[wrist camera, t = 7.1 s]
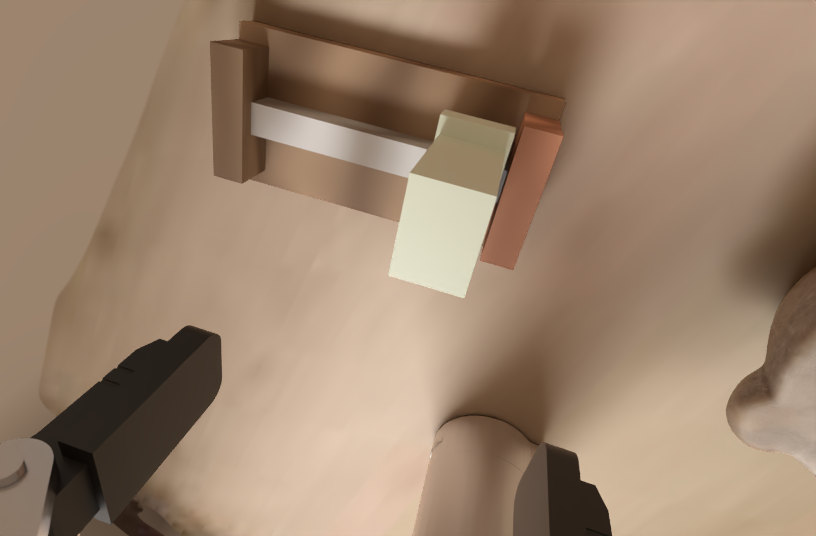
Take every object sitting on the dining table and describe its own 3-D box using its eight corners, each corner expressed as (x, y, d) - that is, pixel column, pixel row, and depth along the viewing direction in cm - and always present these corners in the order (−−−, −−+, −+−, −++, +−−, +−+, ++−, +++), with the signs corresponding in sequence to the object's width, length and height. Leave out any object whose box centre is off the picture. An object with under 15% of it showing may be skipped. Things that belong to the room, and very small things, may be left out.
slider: (516, 120, 26) (509, 174, 17) (482, 228, 30) (462, 317, 21) (450, 103, 26) (410, 147, 18) (424, 211, 30) (380, 292, 21)
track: (564, 98, 27) (571, 116, 22) (511, 244, 32) (507, 283, 27) (252, 20, 29) (198, 21, 24) (249, 170, 34) (205, 194, 29)
